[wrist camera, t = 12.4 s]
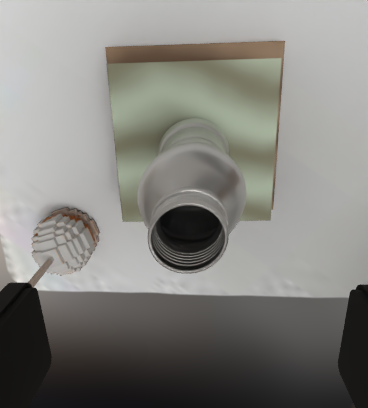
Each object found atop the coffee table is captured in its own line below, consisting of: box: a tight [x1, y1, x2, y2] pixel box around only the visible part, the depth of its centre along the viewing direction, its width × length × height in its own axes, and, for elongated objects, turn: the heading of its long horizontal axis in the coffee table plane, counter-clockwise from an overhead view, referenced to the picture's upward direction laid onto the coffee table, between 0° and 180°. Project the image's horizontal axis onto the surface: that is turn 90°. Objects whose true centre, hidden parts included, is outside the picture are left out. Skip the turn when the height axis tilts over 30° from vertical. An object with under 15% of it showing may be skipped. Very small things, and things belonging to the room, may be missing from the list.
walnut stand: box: [105, 41, 285, 222], centre depth 38 cm, size 20×20×10 cm
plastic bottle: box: [137, 118, 247, 273], centre depth 24 cm, size 6×7×20 cm
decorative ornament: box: [28, 207, 99, 287], centre depth 42 cm, size 8×8×15 cm
